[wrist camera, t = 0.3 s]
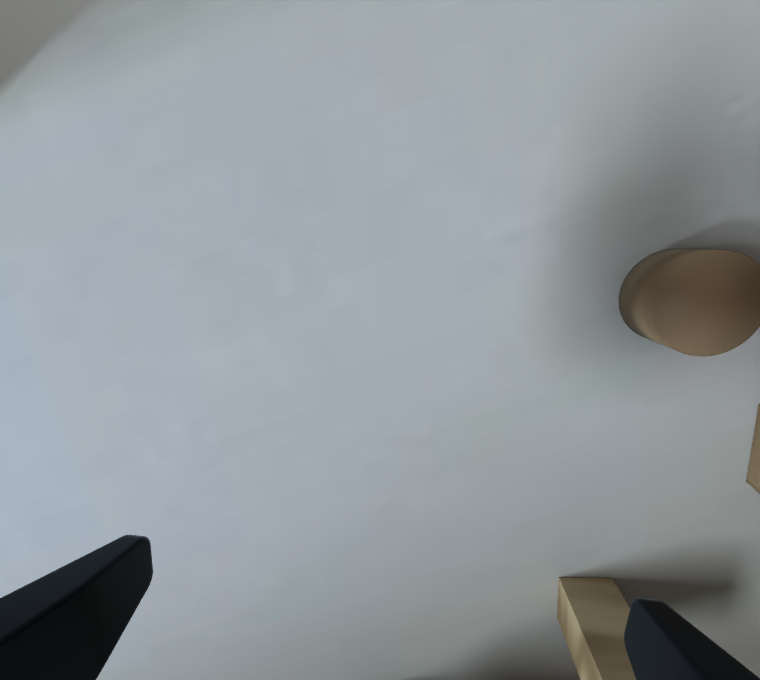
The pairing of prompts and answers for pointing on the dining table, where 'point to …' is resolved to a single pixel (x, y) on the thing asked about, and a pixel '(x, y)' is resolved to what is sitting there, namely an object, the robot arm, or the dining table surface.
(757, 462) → the wooden octagonal ring
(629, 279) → the loose bead
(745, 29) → the dining table surface
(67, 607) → the robot arm
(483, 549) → the dining table surface
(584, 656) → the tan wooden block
